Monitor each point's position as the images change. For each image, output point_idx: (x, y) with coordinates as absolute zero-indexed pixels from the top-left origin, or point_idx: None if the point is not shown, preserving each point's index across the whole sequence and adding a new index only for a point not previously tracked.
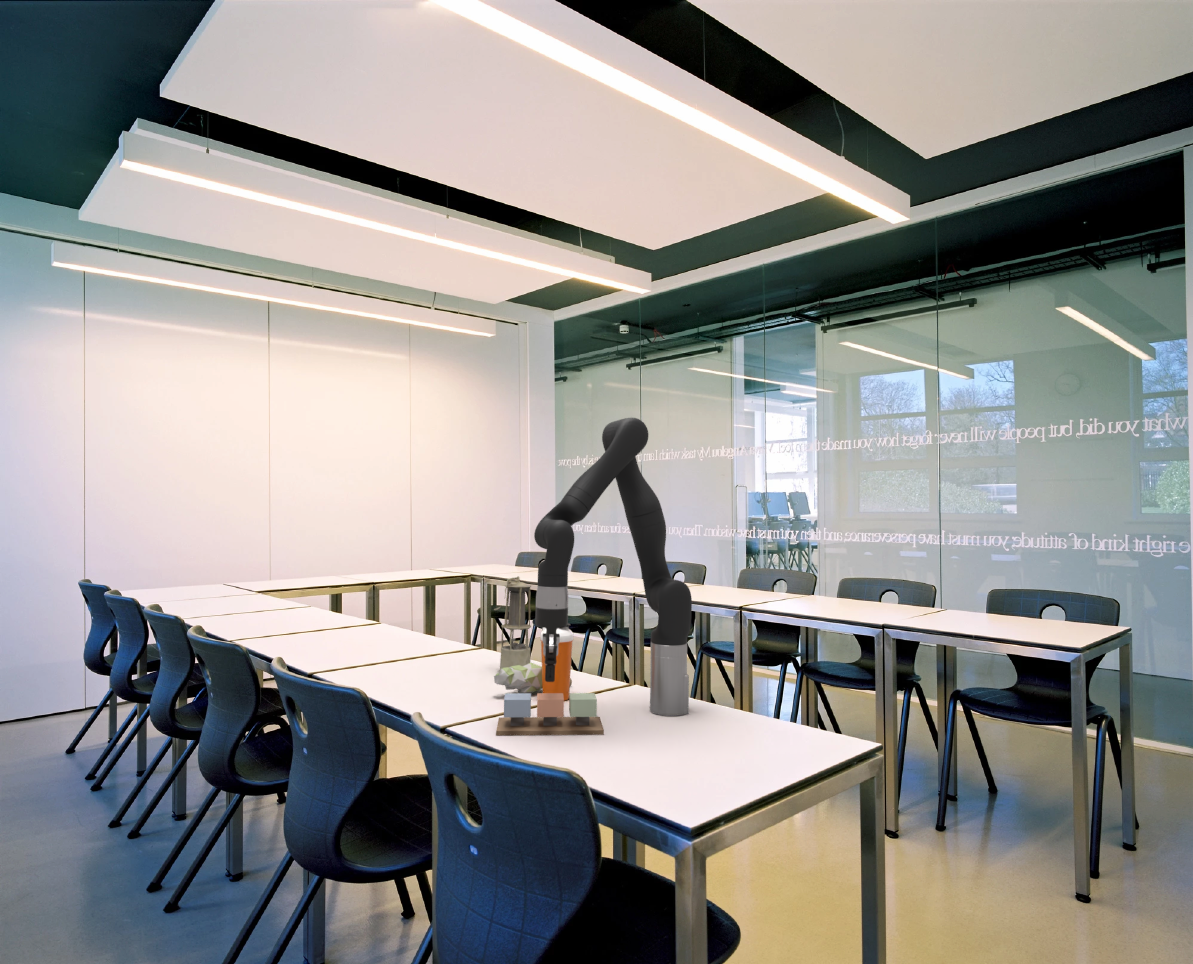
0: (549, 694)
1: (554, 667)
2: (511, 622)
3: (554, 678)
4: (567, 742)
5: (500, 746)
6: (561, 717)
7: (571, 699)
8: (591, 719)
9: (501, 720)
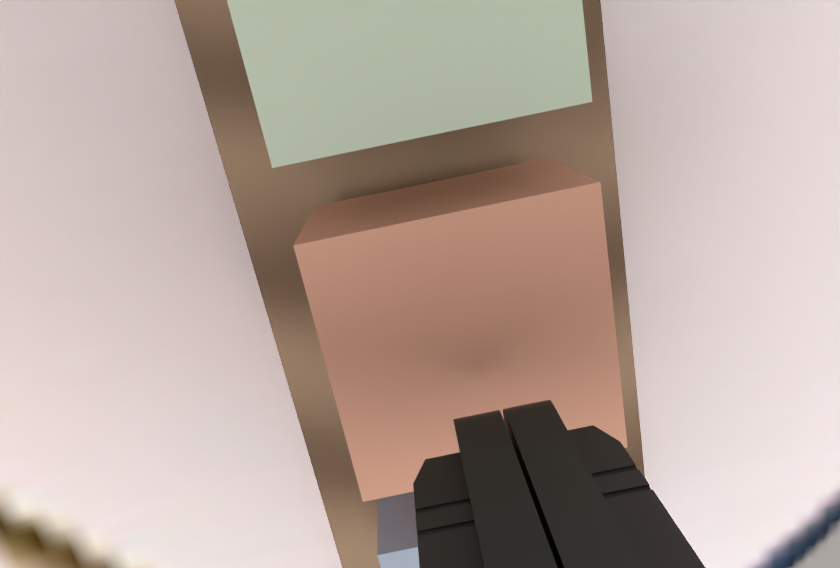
0: (386, 380)
1: (633, 552)
2: None
3: (559, 417)
4: (769, 71)
5: (835, 456)
6: (250, 212)
7: (587, 89)
8: None
9: None
